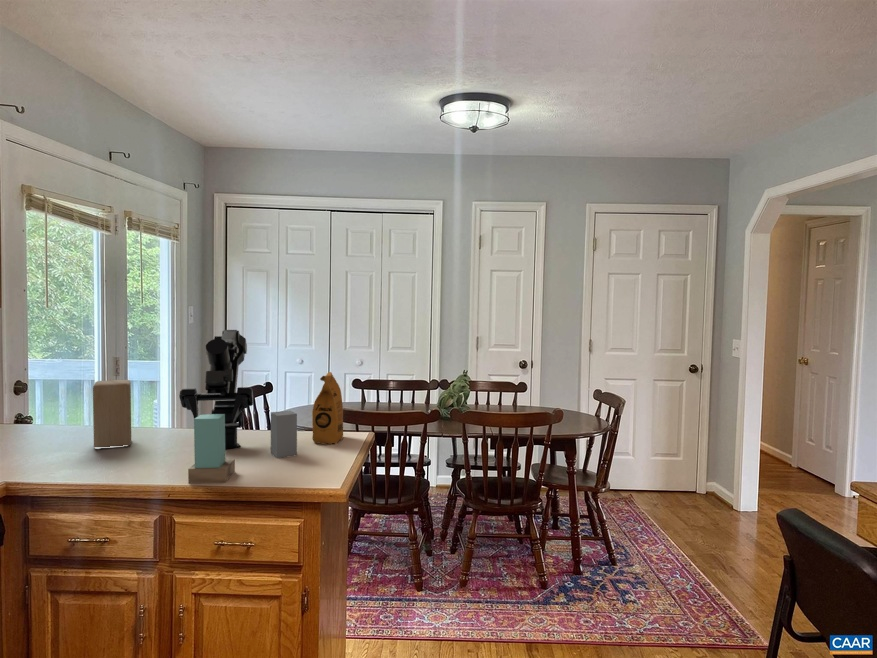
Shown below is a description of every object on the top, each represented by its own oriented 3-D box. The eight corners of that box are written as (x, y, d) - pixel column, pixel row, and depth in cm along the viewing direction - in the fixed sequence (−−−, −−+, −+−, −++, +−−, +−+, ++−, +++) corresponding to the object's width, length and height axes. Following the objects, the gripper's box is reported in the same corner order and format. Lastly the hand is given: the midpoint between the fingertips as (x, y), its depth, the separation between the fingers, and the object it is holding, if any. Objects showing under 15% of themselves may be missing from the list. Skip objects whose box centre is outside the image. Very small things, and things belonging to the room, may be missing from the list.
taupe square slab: (200, 474, 153) (200, 459, 153) (234, 473, 154) (234, 458, 154) (188, 484, 144) (188, 469, 144) (225, 484, 145) (225, 468, 145)
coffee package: (307, 444, 184) (307, 376, 183) (318, 435, 197) (318, 371, 196) (337, 445, 183) (337, 376, 182) (346, 436, 196) (347, 371, 195)
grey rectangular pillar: (270, 453, 173) (270, 412, 172) (290, 450, 176) (290, 410, 175) (276, 458, 168) (276, 415, 167) (296, 455, 171) (296, 413, 170)
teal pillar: (201, 461, 150) (200, 414, 150) (225, 461, 151) (224, 413, 151) (194, 468, 144) (194, 418, 144) (219, 467, 145) (218, 418, 145)
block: (93, 450, 174) (92, 385, 173) (95, 443, 183) (94, 380, 182) (131, 447, 178) (130, 383, 178) (131, 440, 187) (130, 379, 186)
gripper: (180, 359, 156) (171, 407, 146) (252, 358, 160) (248, 405, 150) (186, 383, 164) (178, 430, 154) (254, 382, 168) (251, 428, 158)
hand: (214, 423), depth 154 cm, fingers open, 9 cm apart
